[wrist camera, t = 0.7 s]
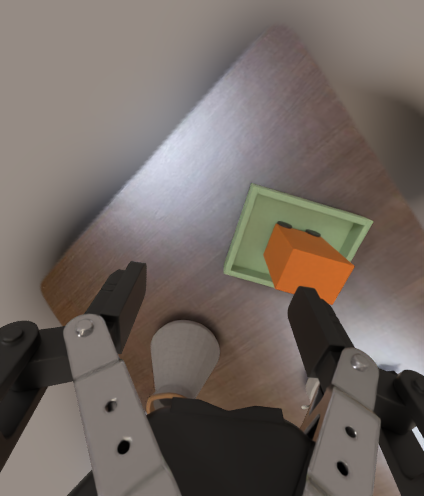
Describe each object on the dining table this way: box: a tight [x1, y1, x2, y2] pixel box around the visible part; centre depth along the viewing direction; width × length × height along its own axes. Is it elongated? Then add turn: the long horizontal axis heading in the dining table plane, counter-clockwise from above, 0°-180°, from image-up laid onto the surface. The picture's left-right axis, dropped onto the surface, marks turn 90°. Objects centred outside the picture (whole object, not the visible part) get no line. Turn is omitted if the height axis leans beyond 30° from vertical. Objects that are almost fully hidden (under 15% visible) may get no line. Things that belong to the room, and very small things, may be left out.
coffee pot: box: [146, 320, 220, 414], centre depth 36 cm, size 21×12×15 cm, turn 138°
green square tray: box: [224, 183, 373, 288], centre depth 32 cm, size 16×13×3 cm
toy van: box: [263, 221, 355, 305], centre depth 28 cm, size 7×5×10 cm
